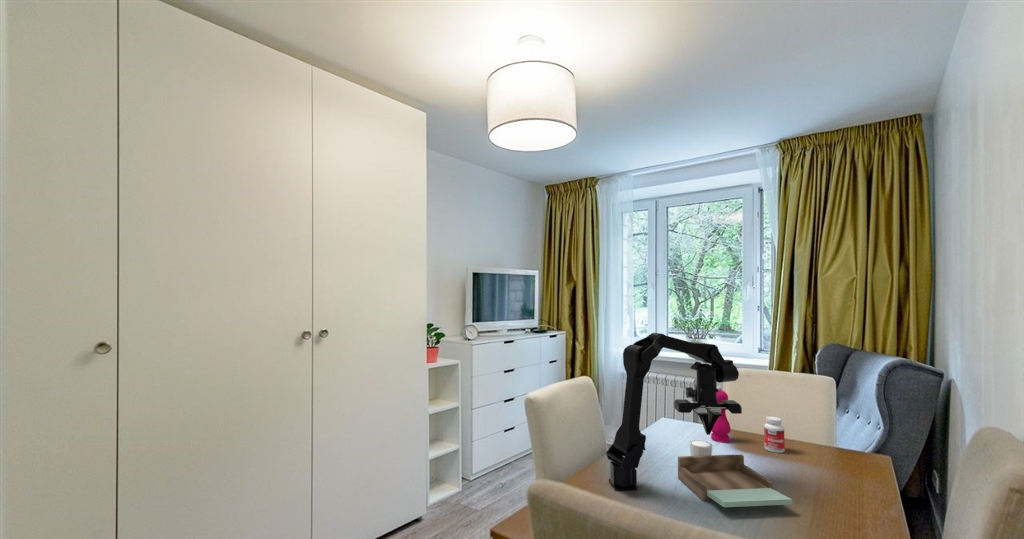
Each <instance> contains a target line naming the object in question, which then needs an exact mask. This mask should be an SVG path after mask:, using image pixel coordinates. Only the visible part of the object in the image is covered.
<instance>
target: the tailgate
mask: <svg viewBox="0 0 1024 539" xmlns="http://www.w3.org/2000/svg"><path fill="white" fill-rule="evenodd" d="M707 496H708V497H710V498H711V499H713V500H714V502H715V503H717V504H718V505H720V506H722V507H723V508H736V507H737V508H739V507H759V506H760V507H763V506H765V507H766V506H780V505H781V506H784V505H793V499H792V498H790V497H788V496H787V495H785V494H782V492H779V491H777V490H775V489H774V488H773V489H771V488H759V489H735V490H710V491H707Z"/></svg>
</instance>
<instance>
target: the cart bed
mask: <svg viewBox="0 0 1024 539" xmlns="http://www.w3.org/2000/svg"><path fill="white" fill-rule="evenodd" d="M677 479H678V480H679V481H680V483H682V484H683V485H684V486H685V487H687V489H689V491H691V492H692V493H693V494H694V495H695V496H697V498H698V499H700V500H701V501H702V502H711V501H714V500H713V499H711V498H710V497H708V496H707V491H710V490H735V489H759V488H771V489H773V490H774V482H773V481H770V479H767V477H765V476H763V475H761V474H760V473H758V472H757V471H755V470H753V468H751V467H749V466H747V465H745V456H744V455H743V454H741V453H740V454H712V455H709V456H691V455H686V456H685V455H682V456H679V455H678V456H677ZM714 502H715V501H714Z"/></svg>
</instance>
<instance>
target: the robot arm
mask: <svg viewBox="0 0 1024 539" xmlns="http://www.w3.org/2000/svg"><path fill="white" fill-rule="evenodd" d="M662 349H667V350H670V351H675V352H679V353H683V354H685V355H687V356H688V357H690V358H692V359H694V360H696V361H694V363H693V364H692V365H691V366H690V369H691V370H695V371H696V372H695V373H696V385H695V389H694V388H693V386H692V387H691V386H690V387H685V396H686V398H687V399H679V398H678V399H675V400H674V402H673V404H674V405H673V408H674V410H676V411H677V412H678V413H682V414H688V413H689V414H690V413H692V412H694V414H696V415H697V416H698V418H699V419H700V421H701V424H702V427H703V430H704V432H705V434H706V435H707V436H711V434H712V429H713V427H714V425H715V423H716V421H717V420H718V418H719V416H722V413H721V410H727V411H729V412H730V414H735V415H736V414H738V415H740V414H741V415H742V414H743V411H742V410H743V407H742V405H741V404H740V403H739V402H737V401H735V400H734V399H732V400H731V399H728V400H722V402H721V403H718V402H717V392H718V389H717V386H718V385H717V383H728V382H736V381H737V380H738V379H739V375H740V373H739V372H740V371H738V370H739V369H738V368H737V367H736V365H735V364H734V360H731V359H724V356H723V355H722V353H721V352H720V350H719V347H718V345H715V344H713V343H712V344H711V343H706V342H698V341H697V342H696V341H687V340H684V339H680V338H676V337H672V336H669V335H665V334H664V333H661V332H659V333H658V332H652V333H650V334H648V335H647V336H646V337H643V338H641V339H640V340H637V341H635V342H634V343H632V344H628V345H627V346H626V347H625V348H624V349H623V352H622V360H623V361H622V363H623V368H624V370H625V373H626V379H625V388H624V389H625V390H624V399H623V400H624V401H623V411H622V420H621V425H620V426H619V427H618V429H617V430H616V431H615V436H614V439H613V443H612V444H611V446H609V448H608V449H607V451H606V452H605V454H606V458H607V460H609V461H610V462H609V463H610V466H609V468H610V470H609V472H610V473H609V477H610V478H608V482H609V483H610V485H611V486H612V488H613V489H614V490H615V491H627V490H628V491H632V490H638V486H637V483H638V482H637V480H638V479H637V476H638V475H637V474H638V472H637V471H638V470H637V469H638V467H639V465H640V462H641V459H642V456H643V454H644V451H646V446H645V445H646V441H647V436H646V434H644V433H641V430H640V424H641V423H640V420H641V413H642V403H643V402H642V401H643V393H644V392H643V390H644V384H645V383H644V380H645V377H646V375H647V374H648V372H650V370H651V365H652V362H653V360H654V359H656V358H657V357H658V356H659V355H660V353H661V351H662ZM689 399H691V401H692V402H690V400H689Z"/></svg>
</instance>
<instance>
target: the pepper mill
mask: <svg viewBox="0 0 1024 539" xmlns="http://www.w3.org/2000/svg"><path fill="white" fill-rule="evenodd" d="M717 389H718V392H717V402H718V403H721V402H722V400H729V396H728V394H727V392H726V391H724V390H723V388H722V386H720V385H717ZM726 412H727V411H726V410H721V413H722V416H719V418H718V420H717V421H716V423H715V425H714V427H713V429H712V431H711V433H710V439H711V440H712V441H714V442H716V443H729V442H730V435H729V434H730V433H731V430H732V429H731V425H730V421H729V420H728V418H727V413H726Z"/></svg>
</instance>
